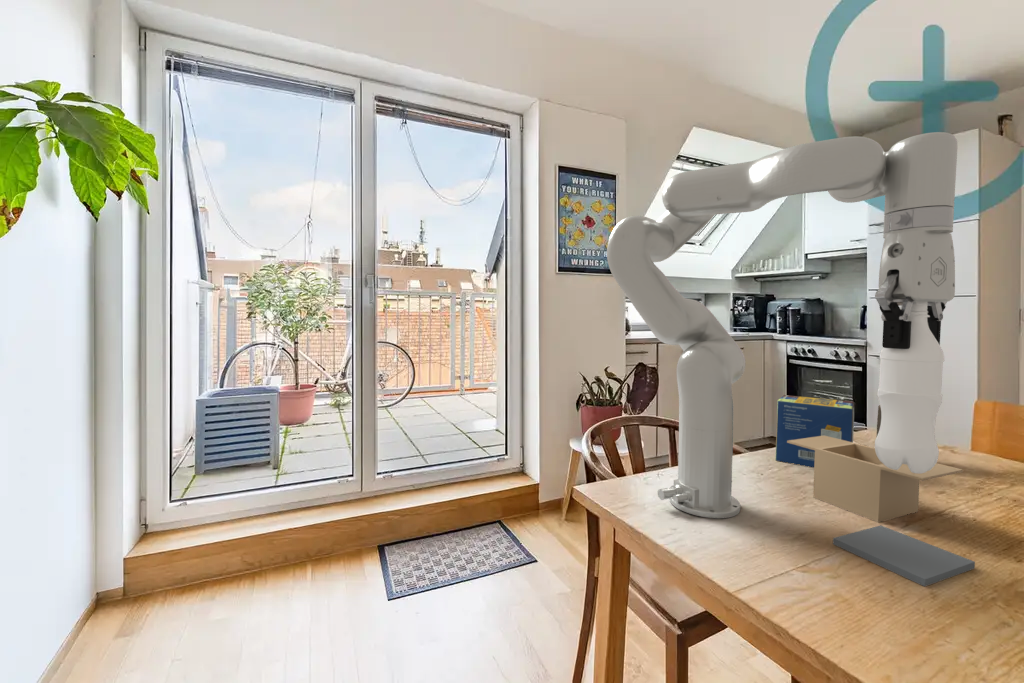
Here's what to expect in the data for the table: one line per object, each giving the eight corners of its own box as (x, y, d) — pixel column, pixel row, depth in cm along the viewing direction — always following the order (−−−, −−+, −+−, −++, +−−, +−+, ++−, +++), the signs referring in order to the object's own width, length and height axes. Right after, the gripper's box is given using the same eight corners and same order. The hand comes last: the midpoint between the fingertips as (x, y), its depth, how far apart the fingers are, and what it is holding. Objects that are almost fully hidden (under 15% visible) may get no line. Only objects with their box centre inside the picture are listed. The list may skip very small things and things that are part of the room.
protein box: (781, 451, 120) (783, 394, 119) (852, 463, 110) (855, 401, 110) (774, 461, 112) (776, 400, 111) (850, 474, 102) (853, 408, 102)
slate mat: (924, 586, 60) (925, 579, 60) (832, 544, 71) (833, 538, 71) (974, 568, 64) (975, 561, 64) (880, 531, 75) (880, 525, 75)
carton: (919, 538, 73) (922, 478, 72) (785, 486, 95) (786, 440, 94) (959, 526, 77) (962, 469, 76) (822, 479, 99) (824, 435, 99)
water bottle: (911, 460, 70) (920, 301, 69) (951, 477, 63) (962, 300, 61) (862, 459, 71) (870, 301, 69) (896, 475, 64) (906, 300, 62)
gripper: (911, 214, 58) (904, 351, 59) (984, 224, 64) (977, 348, 65) (850, 225, 65) (845, 347, 66) (921, 233, 71) (915, 344, 72)
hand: (910, 346), depth 66 cm, fingers closed on water bottle, 6 cm apart
